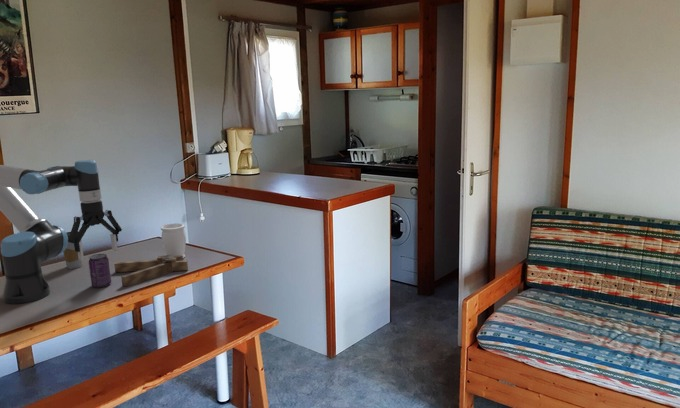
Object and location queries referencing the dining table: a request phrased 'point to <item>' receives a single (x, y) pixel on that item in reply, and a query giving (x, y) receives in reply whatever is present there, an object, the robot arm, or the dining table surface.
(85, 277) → the dining table surface
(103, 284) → the beverage can
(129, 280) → the tongs base
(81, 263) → the coffee cup
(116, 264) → the tong arm
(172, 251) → the jar
